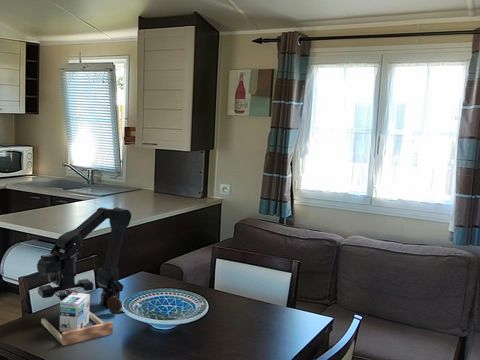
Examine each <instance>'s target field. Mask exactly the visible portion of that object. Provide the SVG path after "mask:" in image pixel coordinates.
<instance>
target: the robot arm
mask: <svg viewBox="0 0 480 360" xmlns="http://www.w3.org/2000/svg"><path fill="white" fill-rule="evenodd" d="M106 220H109V225H110V229H111V230H110V235H109V240H108V244H107V245H108V246H107V250H106V254H105V257H104V258H105V259H104V263H103V265H102V266H101V268H100V267H98V268H97V271H96V275H95V279H96V283H97V285H98V286H99V289H100V290H101V289H102V290H101V293H100V301H99V304H100V305H101V306H103V307H104V308H106V309H109V308H108V306H107V300H108V299H109V298H110V297H112V296H115V297H117V298H119V299H120V293H121V292H123V290H124V284H122V283H121V281H119V276H120V274H119V269H118V263H119V262H118V261H119V257H120V251H121V247H122V246H121V245H122V241H123V238H124V232H125V231H126V230H127V228H128V227H129V225H130V223H131V220H132V213H131V212H130V210H129V209H126V208H121V207H116V206H115V207H114V208H107V207H101V206H100V207H98V208H97V209H96V211H95V212H93V213H92V214H91V215H90V216H89V217H87V218H86V219H85V220H84V221H83V222H81V224H79V225H78V226H77V227H75V228H74V229H72V230H69V231H66V232H65V233H63V234H61V235H60V236H59V237H58V238H57V239H56V243H55V244H54V245H53V247H52V249H51V250H50V252H49V254H46V255H45V254H44V255H41V256H40V258H39V260H38V261H37V263H36V270H37V272H38V274H39V275H40V276H46V275H47V280H48V282H49V283H51V282H53V285H54V284H55V285H56V286H52V285H50V284H45V285H40V286H39V287H38V289H37V294H38V295H39V296H40V297H41V298H42V299H46V298H52V297H53V296H56V297H57V298H59V300H60V302H61V301H62V300H64V299H65V298H66V297H68V296H69V295H70V294H72V293H73V292H75V293H79V292H78V289H83V290H84V291H85V292H88V291H93V290H94V283H93V282H92V281H91V280H90V279H88V278H86V279H85V278H84V279H78V280H77V283H75V282H76V281H75V280H76V279H75V277H77V273H76V258H79V257H81V256H82V254H80V253H79V252H78V250H79V248H80V247H81V246H82V245H83V242H84V239H85V238H87V237H88V236H89V235H90V234H91V233H92V232H93V231H95V229H97V228H98V227H100V225H101V224H102V223H103V222H105V221H106ZM55 273H57V274H55ZM120 300H121V299H120Z"/></svg>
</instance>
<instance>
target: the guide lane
mask: <svg viewBox="0 0 480 360" xmlns="http://www.w3.org/2000/svg"><path fill="white" fill-rule="evenodd" d="M89 320H91V321H93V322H94V323H95V324H94V325H89V326H84V327H83V328H79V329H75V330H70V331H66V332H62V331H61V333H60V331H58V330H57V329H56V328H55V327H54V326H53V324H51V323H50V322H49V321H48V320H47V319H46V318H45V317H44V318H41V321H40V323H41V325H43V327H44V328H46V329H47V330H48V332H49V333H50V334H51V335H53V337H54V338H55V339H56V340H57V341H58V343H60V344H61V346H67V345H73V344H76V343H80V342H84V341H88V340H93V339H98V338H100V337H104V336H105V337H106V336H109V335H113V334H114V322H113V321H111V320H110V321H107V322H104V321H103V320H102V319H100V318H99V317H97V315H95V314H94V313H93V312H91V311H90V310H89Z"/></svg>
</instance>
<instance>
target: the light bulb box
mask: <svg viewBox="0 0 480 360" xmlns="http://www.w3.org/2000/svg"><path fill="white" fill-rule="evenodd" d="M90 296H91V293H90V294H89V293H81V292H80V293H79V292H78V293H75V292H73V293H72V294H70V295H69V296H68V297H66V298H65V299H64V300H62V301H61V300H60V303H59V311H60V312H59V332H61V333H62V332H66V331H70V330H75V329H79V328H84V327H86V325H88V323H89V322H90V318H89V311H90V300H91V297H90Z"/></svg>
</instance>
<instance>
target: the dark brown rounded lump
mask: <svg viewBox="0 0 480 360" xmlns="http://www.w3.org/2000/svg"><path fill="white" fill-rule="evenodd" d="M122 305H123V303H122V301H121V299H119V298H117V297H115V296H112V297H110V298H109V299H108V300H107V306H108V308H107V309H109V311H111V312H112V313H114V314H124V313H123V311H122Z"/></svg>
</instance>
